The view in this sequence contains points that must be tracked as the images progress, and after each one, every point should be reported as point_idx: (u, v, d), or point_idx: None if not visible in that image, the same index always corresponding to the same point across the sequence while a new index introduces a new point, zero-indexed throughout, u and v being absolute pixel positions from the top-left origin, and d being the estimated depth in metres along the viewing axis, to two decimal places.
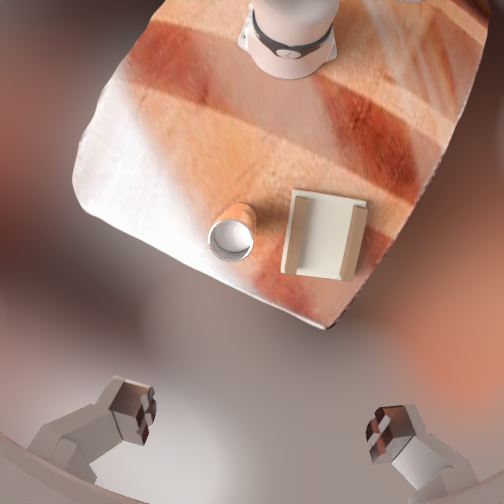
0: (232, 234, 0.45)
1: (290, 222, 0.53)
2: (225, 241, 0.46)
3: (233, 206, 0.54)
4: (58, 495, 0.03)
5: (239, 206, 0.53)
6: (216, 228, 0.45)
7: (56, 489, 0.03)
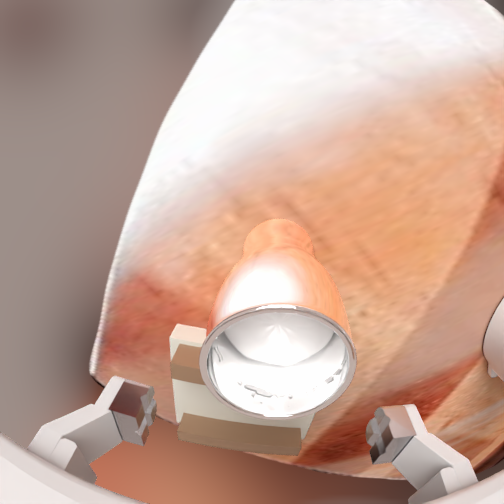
0: (275, 319, 0.15)
1: None
2: None
3: (310, 245, 0.23)
4: (58, 495, 0.03)
5: None
6: None
7: (56, 489, 0.03)
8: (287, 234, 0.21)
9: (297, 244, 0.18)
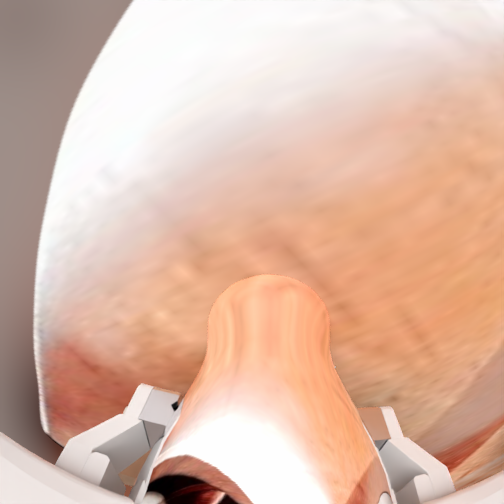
0: None
1: None
2: None
3: (327, 325, 0.12)
4: (58, 495, 0.03)
5: None
6: None
7: (56, 489, 0.03)
8: (287, 321, 0.10)
9: (310, 370, 0.07)
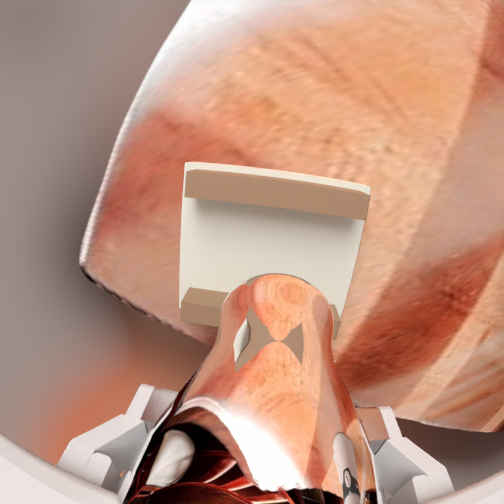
0: None
1: (302, 178, 0.23)
2: None
3: (330, 323, 0.13)
4: (58, 495, 0.03)
5: None
6: None
7: (56, 489, 0.03)
8: (292, 315, 0.11)
9: (309, 356, 0.08)
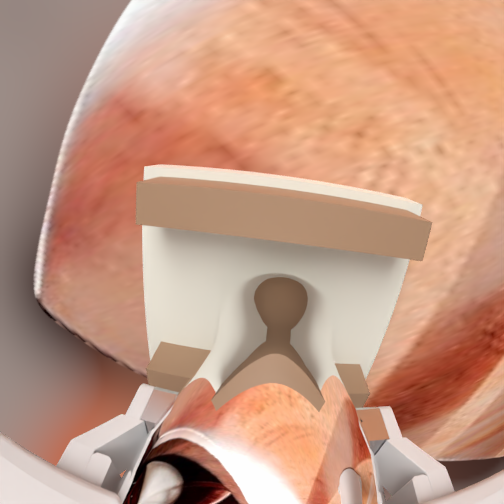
0: None
1: (325, 190, 0.15)
2: None
3: (330, 324, 0.13)
4: (58, 495, 0.03)
5: None
6: None
7: (56, 489, 0.03)
8: (292, 315, 0.11)
9: (309, 356, 0.08)
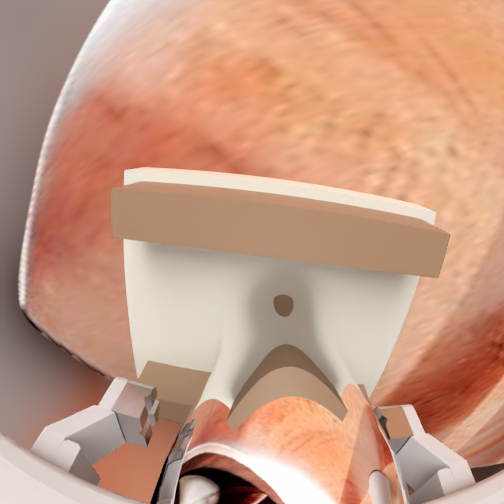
0: None
1: (329, 196, 0.13)
2: None
3: (333, 321, 0.13)
4: (58, 495, 0.03)
5: None
6: None
7: (56, 489, 0.03)
8: (299, 316, 0.11)
9: (324, 358, 0.08)
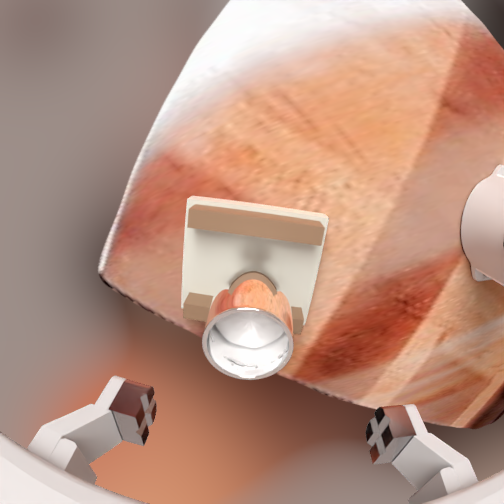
0: (248, 316, 0.24)
1: (275, 212, 0.32)
2: None
3: (277, 266, 0.32)
4: (58, 495, 0.03)
5: (278, 278, 0.32)
6: None
7: (56, 489, 0.03)
8: (260, 258, 0.30)
9: (266, 267, 0.27)
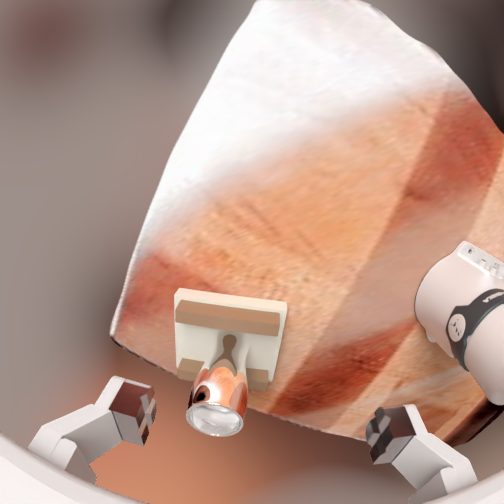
0: None
1: (243, 307, 0.40)
2: None
3: (246, 346, 0.40)
4: (58, 495, 0.03)
5: (246, 355, 0.40)
6: None
7: (56, 489, 0.03)
8: (231, 345, 0.38)
9: (232, 357, 0.36)
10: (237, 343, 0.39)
